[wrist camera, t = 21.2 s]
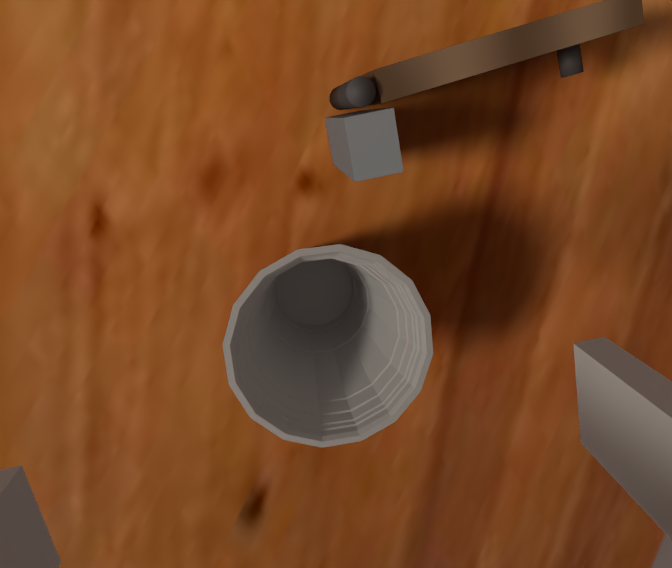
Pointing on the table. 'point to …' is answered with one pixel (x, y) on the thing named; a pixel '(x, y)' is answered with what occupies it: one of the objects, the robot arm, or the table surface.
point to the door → (493, 53)
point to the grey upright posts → (365, 143)
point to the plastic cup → (328, 345)
